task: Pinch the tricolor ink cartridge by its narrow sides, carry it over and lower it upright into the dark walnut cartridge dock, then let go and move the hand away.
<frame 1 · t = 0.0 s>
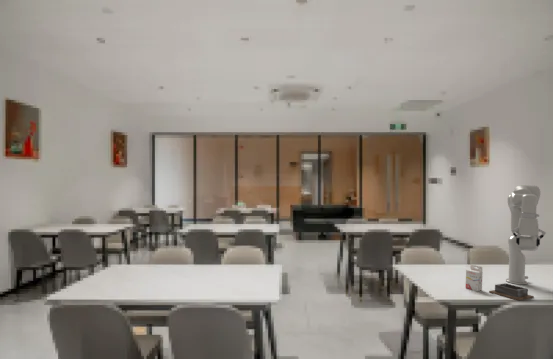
hand: (527, 245, 247), 31 cm above the table, tool pointing down, fingers open, 9 cm apart
dock: (510, 295, 254), on the table
ink cartridge box: (473, 289, 266), on the table
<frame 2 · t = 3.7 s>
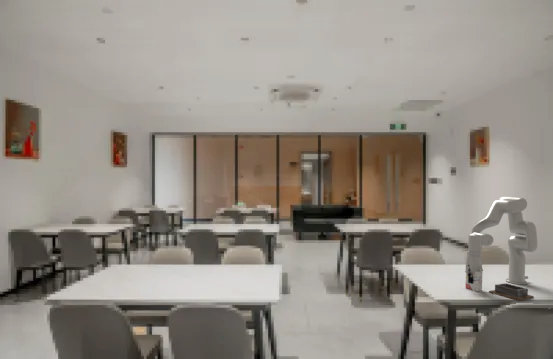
hand: (473, 282, 266), 4 cm above the table, tool pointing down, fingers closed on ink cartridge box, 5 cm apart
ink cartridge box: (473, 289, 266), on the table, touching gripper
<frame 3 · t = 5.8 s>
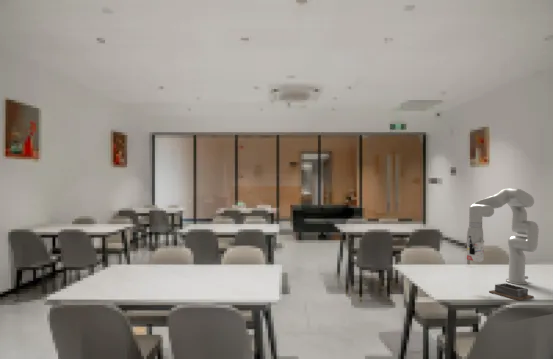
hand: (475, 253, 266), 22 cm above the table, tool pointing down, fingers closed on ink cartridge box, 5 cm apart
ink cartridge box: (475, 260, 266), point 18 cm above the table, touching gripper
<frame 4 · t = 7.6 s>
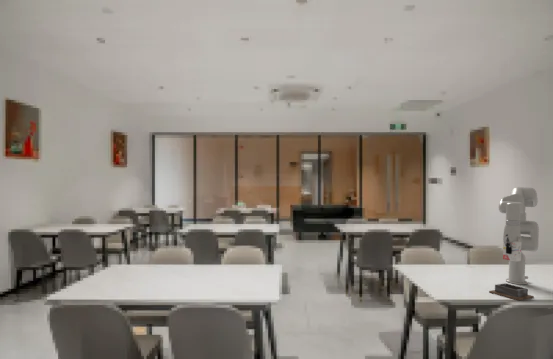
hand: (511, 253, 254), 25 cm above the table, tool pointing down, fingers closed on ink cartridge box, 5 cm apart
ink cartridge box: (511, 260, 254), point 21 cm above the table, touching gripper
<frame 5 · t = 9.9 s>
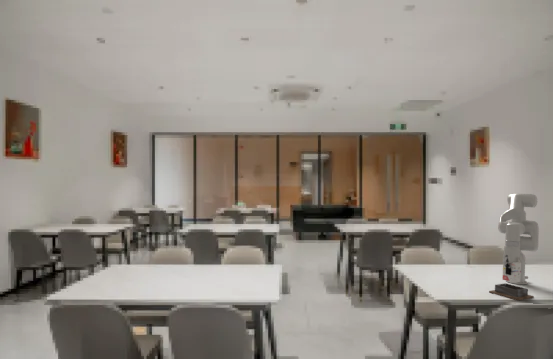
hand: (511, 273, 254), 13 cm above the table, tool pointing down, fingers closed on ink cartridge box, 5 cm apart
ink cartridge box: (511, 281, 254), point 8 cm above the table, touching gripper
when the fingers open (7 cm above the table, at t = 11.6 s): ink cartridge box drops 1 cm, resting on dock.
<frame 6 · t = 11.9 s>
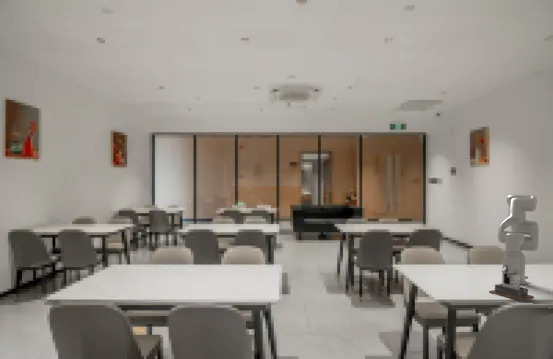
hand: (511, 283, 254), 7 cm above the table, tool pointing down, fingers open, 8 cm apart
ink cartridge box: (510, 293, 254), point 1 cm above the table, touching dock
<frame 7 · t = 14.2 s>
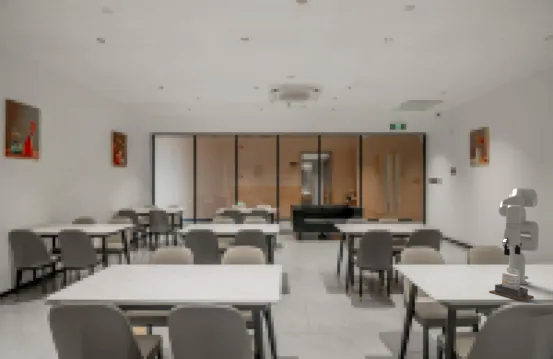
hand: (512, 254, 254), 24 cm above the table, tool pointing down, fingers open, 9 cm apart
nothing on the table moved.
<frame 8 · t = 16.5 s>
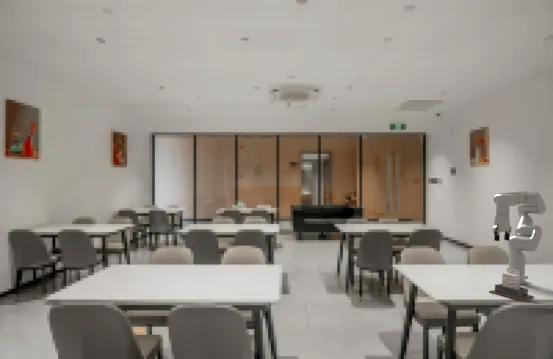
hand: (501, 240, 271), 30 cm above the table, tool pointing down, fingers open, 9 cm apart
nothing on the table moved.
at the end: ink cartridge box 0.2 cm off-centre on the dock, point 0.8 cm above the dock's base; ink cartridge box tilted 0°; the gripper is holding nothing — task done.
